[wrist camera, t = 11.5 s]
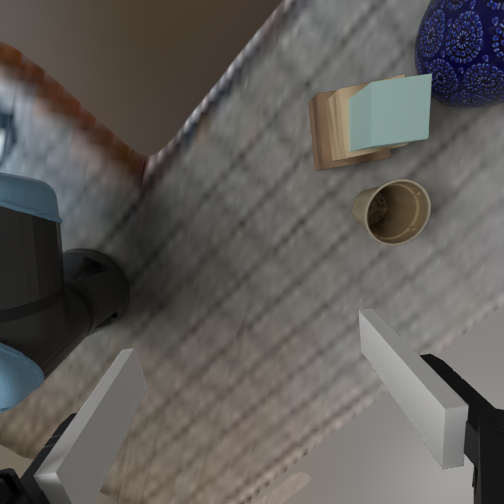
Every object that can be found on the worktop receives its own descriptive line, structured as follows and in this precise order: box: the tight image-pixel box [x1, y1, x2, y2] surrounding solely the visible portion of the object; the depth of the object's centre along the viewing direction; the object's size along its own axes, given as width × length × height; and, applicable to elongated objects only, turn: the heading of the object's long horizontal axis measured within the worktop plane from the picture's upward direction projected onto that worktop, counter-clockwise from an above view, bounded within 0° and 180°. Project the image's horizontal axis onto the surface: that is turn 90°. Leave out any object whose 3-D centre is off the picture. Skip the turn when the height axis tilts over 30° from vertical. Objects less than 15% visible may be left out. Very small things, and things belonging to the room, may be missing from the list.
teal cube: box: [348, 74, 432, 152], centre depth 30 cm, size 6×6×6 cm
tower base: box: [309, 90, 390, 170], centre depth 39 cm, size 10×10×5 cm
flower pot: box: [352, 179, 431, 246], centre depth 41 cm, size 9×9×9 cm
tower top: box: [326, 74, 407, 161], centre depth 35 cm, size 8×8×5 cm
